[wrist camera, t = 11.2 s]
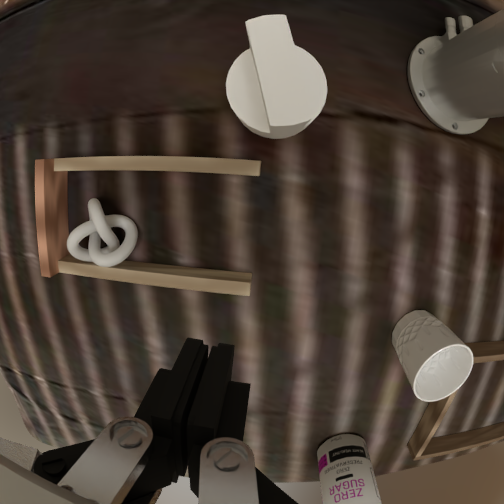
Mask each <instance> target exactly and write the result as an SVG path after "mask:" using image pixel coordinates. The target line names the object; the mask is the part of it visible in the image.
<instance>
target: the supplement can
mask: <svg viewBox="0 0 504 504" xmlns="http://www.w3.org/2000/svg"><path fill="white" fill-rule="evenodd" d="M317 457H318V466H319V474H320V483H321V492H322V502H323V504H381V499H380V496H379V491H378V487H377V483H376V479H375V475H374V472H373V468H372V464H371V460H370V457H369V453H368V449H367V446H366V442H365V441H364V439H363V438H361V437H359V436H356V435H352V434H341V435H337V436H334V437H332V438H330V439H328V440H327V441H325V442H324V443H323V444H322V445H321V446H320V447H319V449H318V451H317Z"/></svg>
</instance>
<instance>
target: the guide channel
mask: <svg viewBox="0 0 504 504" xmlns="http://www.w3.org/2000/svg"><path fill="white" fill-rule="evenodd" d="M80 170H148V171H182V172H204V173H221V174H237V175H250V176H260V171H261V161H255V160H241V159H225V158H205V157H176V156H103V157H76V158H57V159H42V160H35V206H36V225H37V238H38V249H39V259H40V267H41V275H42V276H45V277H52V276H54V275H55V274H57V273H58V272H61V273H68V274H74V275H81V276H88V277H94V278H101V279H108V280H116V281H123V282H131V283H138V284H146V285H154V286H162V287H170V288H179V289H188V290H197V291H206V292H215V293H225V294H235V295H246V296H250V290H251V281H252V273H245V272H234V271H223V270H213V269H203V268H193V267H183V266H173V265H163V264H154V263H145V262H135V261H126V260H124V261H122V262H121V263H119V264H117V265H114V266H111V267H102V266H98V265H97V264H95V263H94V262H88V261H82V260H79V259H77V258H75V257H73V256H72V255H71V254H70V252H69V251H68V248H67V239H68V237H69V228H68V197H67V176H68V171H80Z"/></svg>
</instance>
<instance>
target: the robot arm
mask: <svg viewBox="0 0 504 504" xmlns="http://www.w3.org/2000/svg"><path fill="white" fill-rule="evenodd" d="M444 20H445V27H446V33H445V35H443V36H433V37H428V38H426V39H425V40H423V41H421V42H420V43H419V44H417V45H416V46H415V48H414V49H413V50H412V52H411V54H410V57H409V61H408V66H407V70H408V81H409V86H410V89H411V92H412V95H413V96H414V98H415V100H416V103H417V104H418V106H419V107H420V109H421V110H422V112H423V113H424V114H425V115H426V116H427V117H428V119H429V120H430V121H432V122H433V123H434V124H435V125H436V126H438V127H440V128H441V129H443V130H445V131H447V132H450V133H453V134H470V133H474V132H476V131H478V130H479V129H481V128H482V127H483V126H484V125H485V124H486V122H487V121H488V119H489V118H494V117H503V116H504V9H502V10H501V11H499V12H497V13H495V14H493V15H491V16H490V17H488V18H486V19H484V20H482V21H481V22H479V23H477V24H475V25H474V26H473V21H472V19H471V18H470V17H468V16H459V17H458V21H459V29H460V32H461V33H460V34H458V35H457V34H456V24H455V19H453V18H451V17H446V18H445V19H444ZM419 94H420V95H419ZM452 126H453V127H452ZM233 356H234V345H230V344H223V343H219V344H218V347H216V346H212V348H211V351H210V354H209V357H208V345H204V344H203V340H199V339H193V338H187V339H186V341H185V343H184V345H183V348H182V350H181V352H180V354H179V356H178V358H177V360H176V362H175V364H174V366H173V368H172V370H167V369H162V368H161V369H159V371H158V372H157V374H156V376H155V378H154V380H153V382H152V383H151V385H150V387H149V389H148V391H147V393H146V395H145V397H144V399H143V401H142V403H141V405H140V406H139V408H138V410H137V412H136V414H135V416H134V417H120V418H117V419H115V420H112V421H111V422H110V423H109V424H108V425H107V426H106V427H105V428H104V429H103V431H102V432H101V433H100V434H99V435H98V437H97V438H96V439H93V440H90V441H86V442H82V443H78V444H75V445H71V446H66V447H62V448H58V449H54V450H49V451H47V452H44V453H41V452H39V450H38V449H35V448H32V447H28V446H24V445H22V444H18V443H15V442H12V441H9V440H6V439H3V438H0V504H155V503H156V501H157V499H158V497H159V496H160V494H161V491H162V488H164V487H166V486H168V485H171V482H175V483H177V480H178V477H179V475H180V476H185V473H186V470H187V466H188V473H189V478H190V488H191V490H192V491H193V493H194V494H195V495H196V496H197V497H198V498H199V503H198V504H298V503H297V502H296V501H294V500H293V499H292V498H291V497H289V496H288V495H287V494H286V493H285V492H283V491H282V490H281V489H280V488H279V487H277V486H276V485H275V484H274V483H273V482H272V481H271V480H269V479H268V478H267V477H266V476H265V475H264V474H263V473H262V472H260V471H259V470H258V469H257V468H256V467H255V461H254V455H253V452H252V450H251V449H250V447H249V446H248V445H247V444H245V443H244V442H243V436H244V428H245V421H246V414H247V406H248V399H249V391H250V384H248V383H241V382H234V381H231V375H232V366H233Z"/></svg>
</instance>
